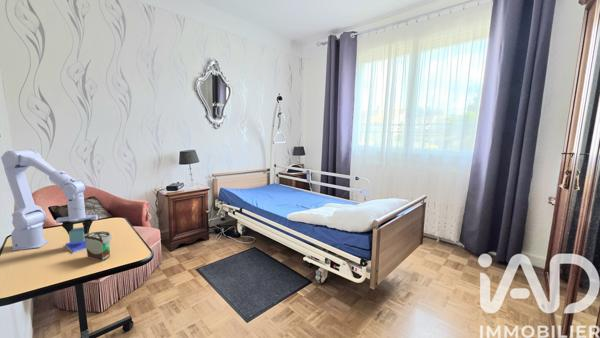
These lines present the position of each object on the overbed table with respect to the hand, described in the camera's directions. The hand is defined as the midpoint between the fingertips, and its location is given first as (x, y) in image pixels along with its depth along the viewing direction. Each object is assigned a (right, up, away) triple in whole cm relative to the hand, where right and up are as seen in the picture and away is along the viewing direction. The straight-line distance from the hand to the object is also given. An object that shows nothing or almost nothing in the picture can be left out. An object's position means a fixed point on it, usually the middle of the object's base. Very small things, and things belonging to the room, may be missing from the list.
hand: (79, 236), depth 115 cm
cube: (0, -2, 0) cm, 2 cm away
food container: (+17, -7, -8) cm, 20 cm away
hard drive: (0, -6, +1) cm, 6 cm away
